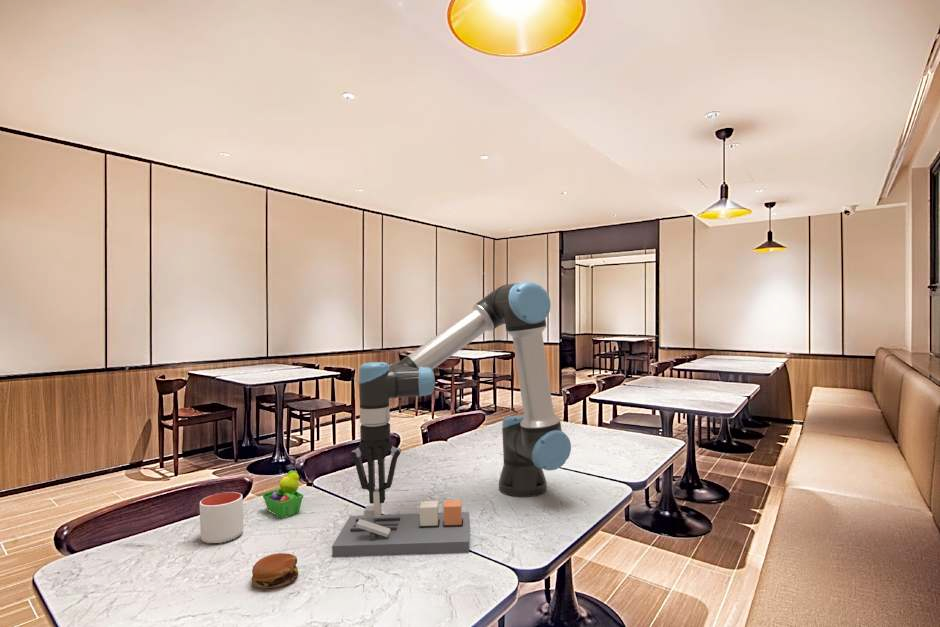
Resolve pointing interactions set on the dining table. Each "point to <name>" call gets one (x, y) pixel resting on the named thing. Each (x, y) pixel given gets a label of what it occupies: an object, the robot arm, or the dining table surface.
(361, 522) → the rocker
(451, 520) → the button
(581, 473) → the dining table surface
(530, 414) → the robot arm
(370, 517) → the slider knob
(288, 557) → the burger
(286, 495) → the fruit basket
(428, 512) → the button
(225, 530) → the cup
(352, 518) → the console
